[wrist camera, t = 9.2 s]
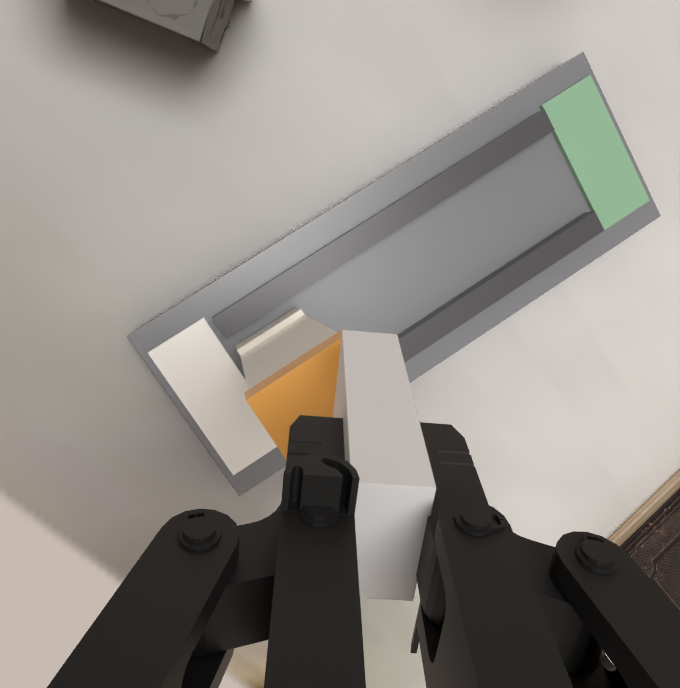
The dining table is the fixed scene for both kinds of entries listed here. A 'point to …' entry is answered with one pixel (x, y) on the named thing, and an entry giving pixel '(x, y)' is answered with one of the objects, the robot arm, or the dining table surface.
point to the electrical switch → (182, 17)
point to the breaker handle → (290, 372)
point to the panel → (415, 255)
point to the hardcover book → (656, 538)
